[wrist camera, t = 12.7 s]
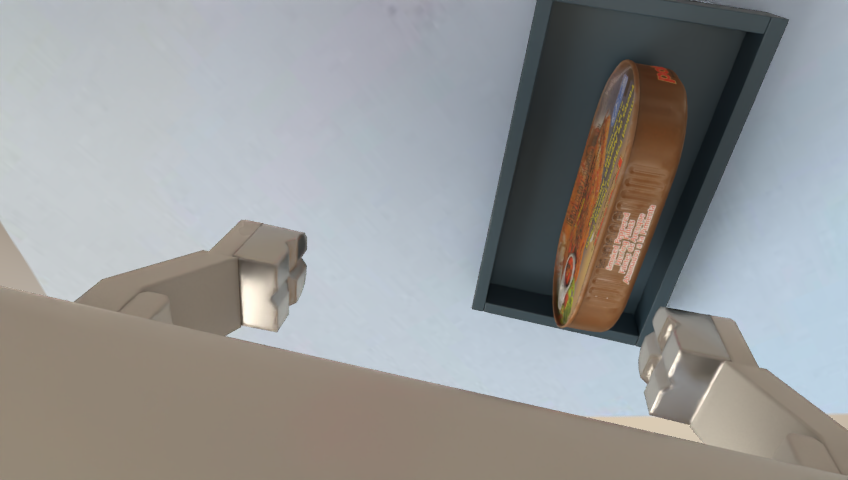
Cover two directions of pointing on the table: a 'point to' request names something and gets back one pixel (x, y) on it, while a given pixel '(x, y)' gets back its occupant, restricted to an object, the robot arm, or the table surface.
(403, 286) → the table surface
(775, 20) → the tray
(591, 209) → the tin
